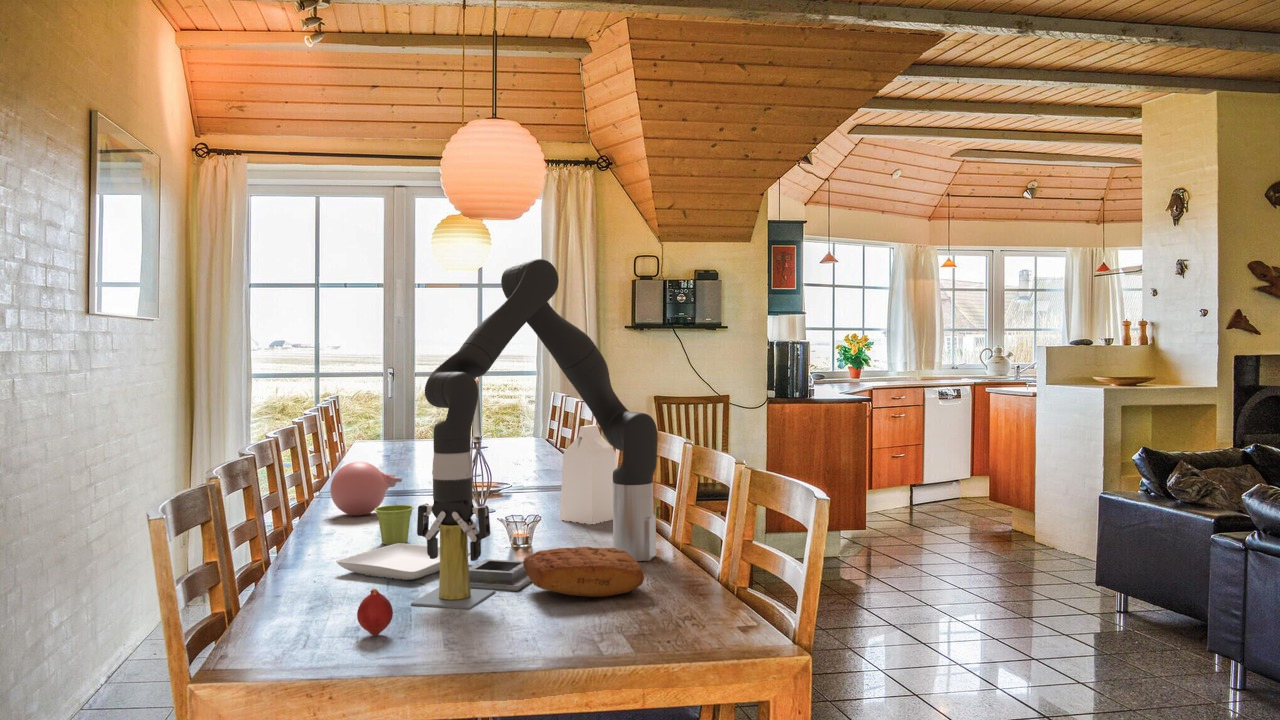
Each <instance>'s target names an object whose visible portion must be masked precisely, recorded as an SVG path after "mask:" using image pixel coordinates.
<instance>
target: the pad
mask: <svg viewBox="0 0 1280 720" xmlns="http://www.w3.org/2000/svg"><path fill="white" fill-rule="evenodd" d="M470 591H471V595H470V596H469V597H468V598H465V599H461V600H443V599H441V598H439V587H437V588H435V589H433V590H432V591H430V592H428V593H426V594H425V595H422V596H421V597H419V598H418V599H415V600H414V601H412V602H411V603H410V606H418V607H433V608H443V609H446V608H448V609H461V610H462V609H463V610H471V609H472V608H474V607H475V606H477V605H478V604H480V603H482V602H483V601H485V600H486V599H488V598H489V597H490V596H492V595H493V594H495V593H496V590H494V589H478V588H470Z"/></svg>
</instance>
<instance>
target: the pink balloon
mask: <svg viewBox="0 0 1280 720" xmlns="http://www.w3.org/2000/svg"><path fill="white" fill-rule="evenodd" d="M402 482H403V479H402V477H397V476H395V475H394V474H393V473H391V474H388V473H384V472H382V471H381V470H380V469H379V468H378V467H376V466H375V465H373V464H371V463H369V462H365V461H353V462H349V463H347V464H345V465H343V466H342V467H340V469H338V470H337V472H336V473H335V474H334V476H333V477H332V479H331V483H330V490H329V491H330V496H331V499H332V502H333V504H334V506H335V507H337V508H338V510H340V511H341V512H343V513H344V514H347V515H349V516H353V517H354V516H356V517H359V516H366V515H368V514H371V513H372V512H375V508H378V507H380V505H381V504H382V503H383V501H384V499H385V497H386V493H387V491H388V489H389V488H394V487H396V485H397V483H402Z"/></svg>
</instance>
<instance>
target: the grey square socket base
mask: <svg viewBox="0 0 1280 720" xmlns="http://www.w3.org/2000/svg"><path fill="white" fill-rule="evenodd" d="M523 561H524V560H523ZM523 561H522V560H503V559H487V558H486V559H484V560H483V561H481V562H479V563H477V564H476V565H473V566H472V567H469V577H470V589H481V590H495V591H496V590H497V591H498V590H499V591H512V592H513V591H515V592H518V591H520V590H522V589H523V588H524V587H526V586H527V585H529V584H531V583H532V581H531V580H530V578H529V576H528V574H527V572H526V570H525V568H524V565H523Z"/></svg>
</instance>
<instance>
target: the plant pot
mask: <svg viewBox="0 0 1280 720" xmlns="http://www.w3.org/2000/svg"><path fill="white" fill-rule="evenodd" d="M413 510H414V506H413V505H410V504H393V505H392V504H390V505H383V506H382V505H381V506H379V507H378V508H375V510H374V512H375V513H376V517H377V518H378V525H379V531H380V538H381V542H382V544H383V545H384V546H385V545H386V546H390V545H394V544H397V543H403V544H407V543H408V540H409V530H410V522H411V516H412V512H413Z"/></svg>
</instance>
